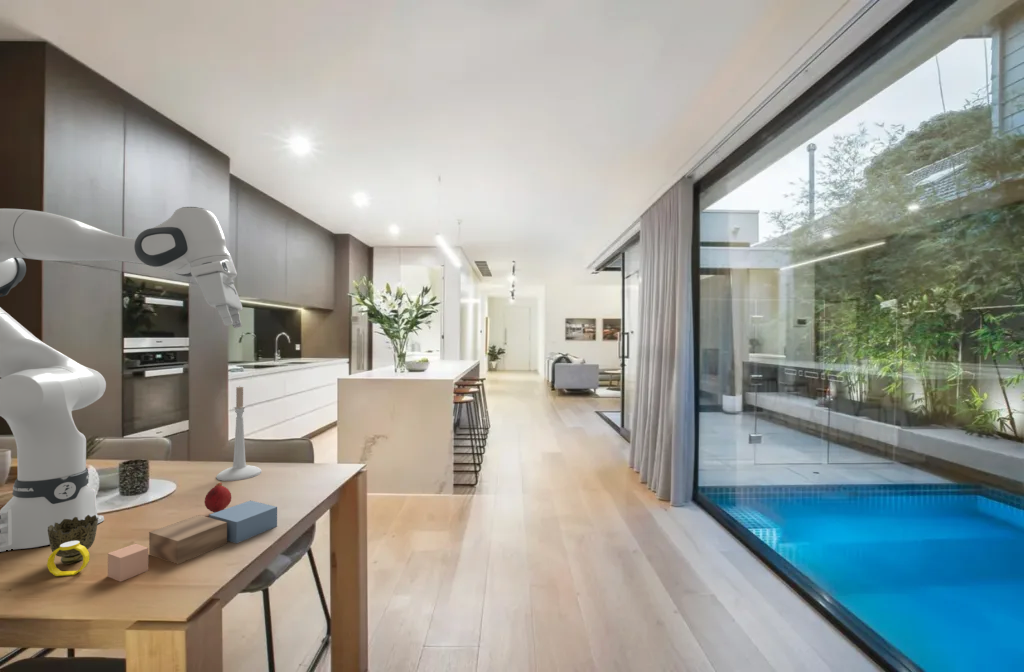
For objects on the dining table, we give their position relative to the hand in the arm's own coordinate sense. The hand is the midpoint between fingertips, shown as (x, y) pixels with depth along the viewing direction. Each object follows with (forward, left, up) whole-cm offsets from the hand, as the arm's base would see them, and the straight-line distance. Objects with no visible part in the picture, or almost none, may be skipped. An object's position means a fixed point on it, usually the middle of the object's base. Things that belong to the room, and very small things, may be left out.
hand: (233, 326), depth 109 cm
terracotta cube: (+4, -23, -49) cm, 54 cm away
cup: (-12, -25, -49) cm, 56 cm away
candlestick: (-37, +27, -49) cm, 67 cm away
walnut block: (+4, -12, -49) cm, 51 cm away
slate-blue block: (+6, -1, -49) cm, 50 cm away
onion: (-10, +3, -49) cm, 50 cm away
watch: (-6, -28, -49) cm, 57 cm away
